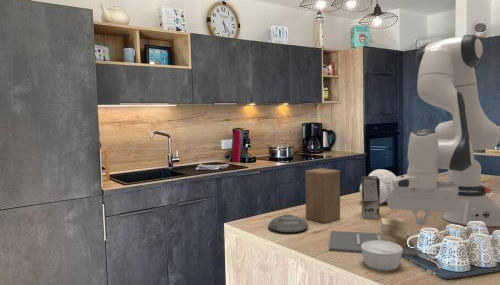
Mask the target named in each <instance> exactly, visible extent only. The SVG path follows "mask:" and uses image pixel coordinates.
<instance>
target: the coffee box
mask: <svg viewBox="0 0 500 285" xmlns="http://www.w3.org/2000/svg"><path fill="white" fill-rule="evenodd" d="M361 184H362V198H361V214H362V217H363V219H374V220H380V205H381V204H380V179H379V178H378V177H377V176H368V175H367V176H366V175H365V176H361Z"/></svg>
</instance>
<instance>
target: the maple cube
mask: <svg viewBox="0 0 500 285" xmlns="http://www.w3.org/2000/svg"><path fill="white" fill-rule="evenodd" d="M407 227H408V226H407V223H406V222H405V219H404V218H390V217H389V218H387V217H386V218H385V217H381V218H380V234H381V240H382V241H389V242H393V243H396V244H398V245H400V246H401V247H406V235H407V231H408V230H407Z"/></svg>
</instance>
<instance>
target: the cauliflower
mask: <svg viewBox="0 0 500 285" xmlns="http://www.w3.org/2000/svg"><path fill="white" fill-rule="evenodd" d="M367 176H377V177H378V178H379V179H380V205H382V204H383V203H387V204H388V194H389V190H390V187H391V186H392V185H393V183H392V179H393V178H394V177H397V175H395V173H393V172H392V171H390V170H387V169H382V168H381V169H380V168H379V169H375V170H373V171H371V172H370V173H369V174H368V175H367ZM359 195H360V197H361V199H362V183H361V184H360V186H359Z"/></svg>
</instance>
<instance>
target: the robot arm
mask: <svg viewBox="0 0 500 285" xmlns="http://www.w3.org/2000/svg"><path fill="white" fill-rule="evenodd" d="M483 49H484V48H483V43H482V41H481V38H480V37H479V36H477V35H476V34H465V35H462V36H461V35H460V36H454V37H453V36H452V37H448V38H445V39H441V40H438V41H434V42H431V43H426V44H423V45H422V46H419V47H418V49H417V50H416V53H415V64H416V66H417V67H416V68H418V73H417V79H416V80H417V81H416V82H417V84H416V86H417V87H416V89H417V90H416V91H417V94H418V96H419V99H421V100H423V102H425V103H427V104H428V105H430V106H433V107H437V108H439V109H443V110H445V111H447V112H448V113H450V114H451V117H452V120H448V121H443V122H440V123H438V125H436V127H435V129H432V128H431V129H429V128H418V129H414V130H413V131H411V132H410V135H409V140H408V146H407V160H408V165H407V166H408V167H407V173H406V174H403V175H398V176H396V177H394V178H393V179H392V183H393V185H392V186H391V187H390V190H389V194H388V202H387V207H388V208H389V209H390V210H401V211H404V210H405V211H412V215H413V216H414V217H415V224H416V225H425V226H426V225H427V224H428V223H427V220H429V217H430V216H431V214H432V212H437V213H438V212H439V213H443V217H442V218H443V219H444V220H446V221H447V222H451V223H454V224H460V225H463V226H466V225H467V223H468V222H469V221H482V222H484V223H485V225H486V226H485V227H500V204H499V203H498V202H496V201H494V200H493V199H492V198H490V197H489V196H488V195H487V194H490V193H491V192H492V189H491V188H490V187H488V186H486V187H485V186H484V185H482V166H481V163H480V162H479V161H478V160H476V159H475V158H474V157H475V154H474V151H484V150H485V151H487V150H493V149H495V148H496V147H497V146H498V145H499V143H500V128H499V126H498V125H497V124H495V123H494V122H493V121H491V120H490V119H489V117H488V116H487V115H486V114H485V112H484V110H483V107H482V105H481V103H480V98H479V91H478V83H477V77H476V76H477V75H476V71H475V70H476V69H475V66H476V64H478V62H479V61H480V60H481V59H482V56H483ZM439 169H441V170H448V181H439ZM420 211H421V212H424V213H425V215H424V216H423V217H418V214H419V212H420Z"/></svg>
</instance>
